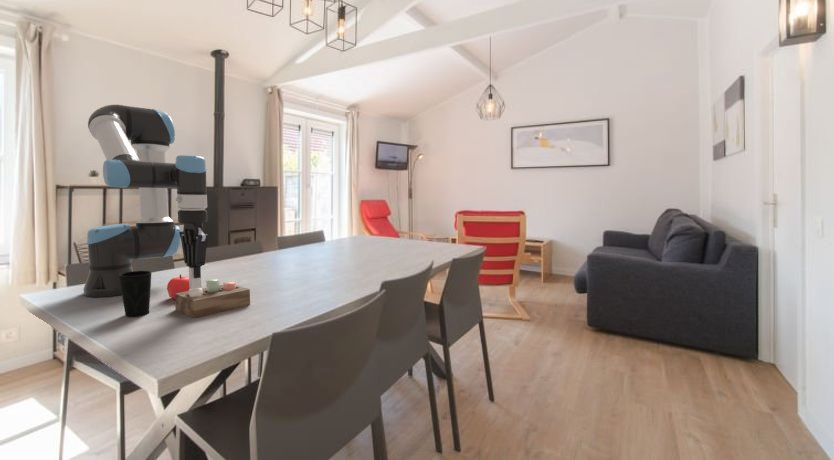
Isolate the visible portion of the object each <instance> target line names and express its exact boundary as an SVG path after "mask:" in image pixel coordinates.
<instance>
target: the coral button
mask: <svg viewBox="0 0 834 460" xmlns="http://www.w3.org/2000/svg"><path fill="white" fill-rule="evenodd" d="M222 285H223V290H226V291H227V290H232V289H236V285H237V282H236V281H226V282H223V284H222Z"/></svg>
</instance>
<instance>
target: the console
mask: <svg viewBox="0 0 834 460" xmlns="http://www.w3.org/2000/svg"><path fill="white" fill-rule="evenodd" d="M201 288H202V289H203V296H198V297H193V298H191V297H189V291H186V292H181V293H176V294H175V299H174V305H175V306H174V307H175V309H174V310H176V311H178V312H179V313H182V314H185V315H186V316H189V317H191V318H194V319H196V318H202V317H204V316H208V315H213V314H217V313H222V312H225V311H229V310H234V309H237V308H242V307H246V306H250V305H251V289H250V288H247V287H244V286H240V285H237V284H236V289H232V290H227V291H226V290H223V284H220V292H217V293H212V294H208V293H207V287H204V288H203V287H201Z"/></svg>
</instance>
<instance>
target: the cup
mask: <svg viewBox="0 0 834 460" xmlns="http://www.w3.org/2000/svg"><path fill="white" fill-rule="evenodd" d="M119 281H120V287H121V292H122V295H121V297H122V303H123V304H122V305H123V308H124V315H125V317H127V318H138V317H143V316H146V315H149V314H150V305H151V304H150V303H151V287H152V285H151V284H152V271H150V270H133V271H132V272H126V273H122V274H119Z"/></svg>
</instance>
